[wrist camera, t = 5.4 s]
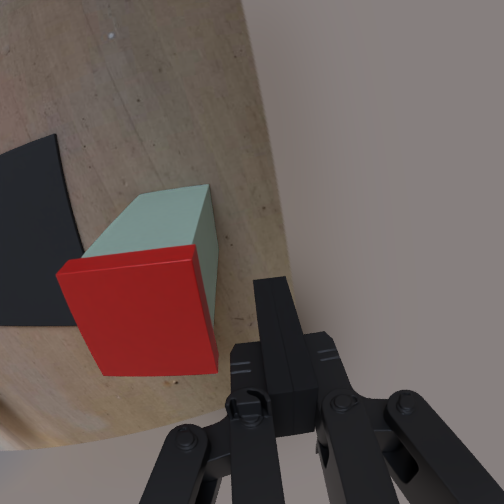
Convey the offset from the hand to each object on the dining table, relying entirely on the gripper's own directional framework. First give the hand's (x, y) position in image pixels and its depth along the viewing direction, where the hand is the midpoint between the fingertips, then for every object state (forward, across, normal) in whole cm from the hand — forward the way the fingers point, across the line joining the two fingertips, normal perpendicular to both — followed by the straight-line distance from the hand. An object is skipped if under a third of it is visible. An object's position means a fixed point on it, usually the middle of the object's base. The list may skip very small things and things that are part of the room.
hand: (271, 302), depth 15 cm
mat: (+13, -31, 0) cm, 34 cm away
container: (+13, -6, 0) cm, 14 cm away
